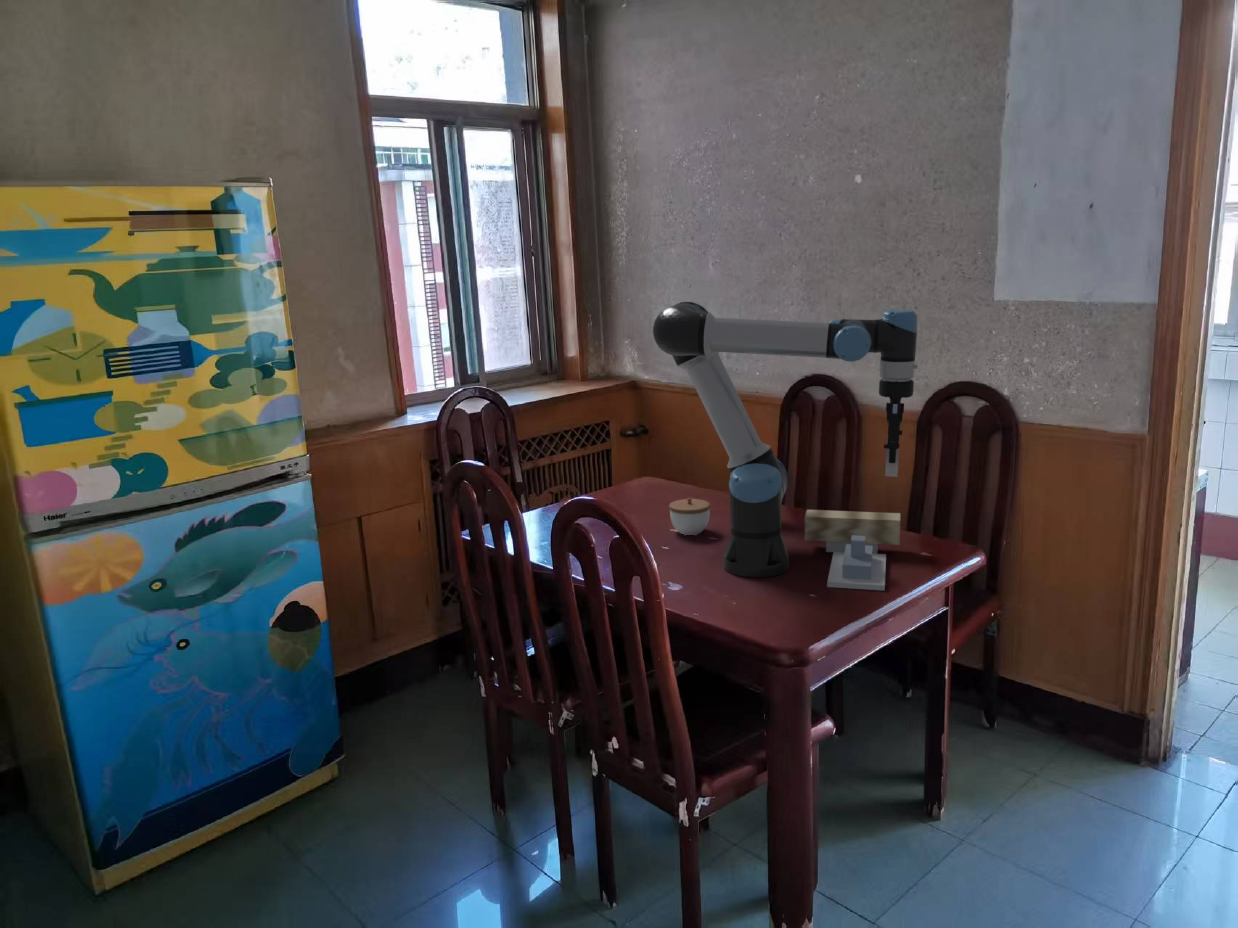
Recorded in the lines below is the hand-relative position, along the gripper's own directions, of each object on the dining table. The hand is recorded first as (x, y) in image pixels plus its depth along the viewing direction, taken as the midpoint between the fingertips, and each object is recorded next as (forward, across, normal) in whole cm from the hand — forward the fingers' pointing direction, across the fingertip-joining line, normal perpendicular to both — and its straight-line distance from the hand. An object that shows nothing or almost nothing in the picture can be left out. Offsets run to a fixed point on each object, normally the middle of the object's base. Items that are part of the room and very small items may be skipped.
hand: (891, 469), depth 206 cm
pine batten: (+18, +1, +8) cm, 20 cm away
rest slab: (+21, +1, +8) cm, 23 cm away
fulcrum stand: (+21, -14, +6) cm, 26 cm away
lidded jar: (+22, +8, +50) cm, 56 cm away
